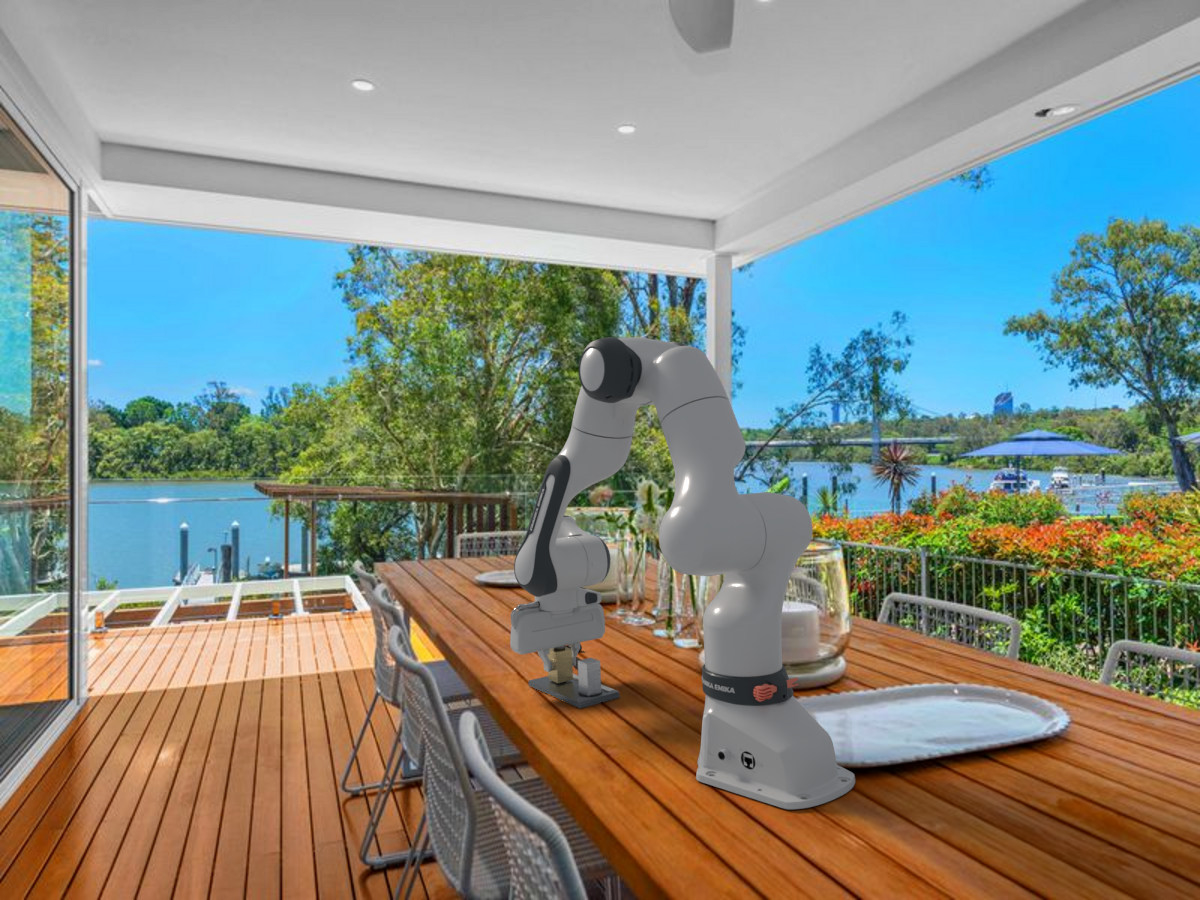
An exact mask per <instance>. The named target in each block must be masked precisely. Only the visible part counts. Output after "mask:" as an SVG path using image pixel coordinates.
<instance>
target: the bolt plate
mask: <svg viewBox="0 0 1200 900" xmlns="http://www.w3.org/2000/svg"><path fill="white" fill-rule="evenodd" d="M601 672H602V670H601V660H599V659H596V658H593V657H587V658H583V659H581V660H579V661H578V669H577V674H578V675H577V674H575V673H573V680H570V681H565V682H561V683H556V682H553V681H551V680H549V679H548V675H547V676H541V677H537V678H534V679H529V680H528V687H529V686H531V687H533V688H535V689H534V690H536V689H537V690H536V691H538V690H540V691H542V692H545V693H547V694H550V695H552V696H554V697H556V698H558V699H560V700H559V701H561V700H563V701H565V702H567V703H569V704H568V705H570V704H571V706H572V705H573V706H572V707H574V706H575V708H576V707H578V708H577V709H579V708H580V709H583V708H587V707H590V706H594V705H595V706H596V705H599V704H602V703H601V702H603V703H606V702H610V701H613V699H614V700H617V699H620V691H619V690H616V689H614V688H611V687H609V686H606V685H604V684H602V679H601V678H602V673H601ZM531 687H530V688H531ZM533 688H532V689H533ZM540 691H539V692H540ZM542 692H541V693H542ZM545 693H544V694H545ZM547 694H546V695H547ZM554 697H553V698H554ZM556 698H555V699H556ZM558 699H557V700H558ZM609 700H610V701H609ZM563 701H562V702H563ZM605 701H606V702H605ZM565 702H564V703H565ZM567 703H566V704H567ZM598 703H599V704H598Z"/></svg>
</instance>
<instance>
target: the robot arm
mask: <svg viewBox="0 0 1200 900" xmlns="http://www.w3.org/2000/svg"><path fill="white" fill-rule="evenodd" d="M578 378H579V382H580V385H581V387H580V390H579V391H578V392H579V393H578V396H577V400H576V403H575V407H574V410H573V411H574V412H573V416H572V417H573V418H572V422H571V426H570V427H571V429H570V431H569V434H568V437H567V440H566V441H565V444H564V446H563V447H562V449H561V451H559V454H558V455H556V456H555V457H554V458H553V459H552V460H550V462H549V464H548V466H547V468H546V471H545V473H544V476H543V479H542V482H541V484H540V489H539V491H538V495H537V498H536V501H535V504H534V508H533V510H532V515H531V516H530V520H529V524H528V527H527V530H526V533H525V536H524V538H523V541H522V543H521V544H520V546H519V548H518V550H517V553H516V556H515V559H514V562H513V571H514V572H513V573H514V577H515V580H516V582H517V583H518V584H519V586H520V587H521V588H522V589H523V590H525V591H526V592H527V593H528V594H530V595H532V596H534V601H532V602H531V601H530V602H528V603H520V604H518V605H516V607H514V608H513V609H512V611H511V612H510V624H511V628H510V639H509V642H510V649H511V650H512V651H513V652H514V653H515V654H519V655H527V654H531V653H536V652H537V654H538V656H539V657H540V659H541V660H542V662H543V670H544V672H547V673H548V672H550V671H554V670H555V667H554V666H555V662H554V661H551V660H550V659H549V658H548V656H547V655H548V654H550V652H549V649H551V648H555V647H560V646H568V645H569V647H571V649H572V667H575V665H576V657H578V654H579V653H580V652H579V650H580V644H581V643H583V642H587V641H591V640H592V641H593V640H597V639H601V638H603V637H604V634H605V632H606V621H605V612H604V608H603V606H602V605H601V604H600V603H601V602H602V594H601V592H599V591H595V590H591V589H587V588H585V587H588V586H589V587H590V586H594V585H597V584H601V583H602V582H603V581H604V580H605V579H606V578H607V577H608V575H609V572H610V569H611V552H610V550H609V548H608V545H607V544H606V542H605V541H604V540H603V539H602V538H601V537H599V536H598V535H593V534H591V533H588V532H587V531H585V530H583V529H582V528H581V527H580V526H578V525H577V523H576V520H575V518H573V517H572V516H569V515H565V513H566V511H567V508H568V505H569V504H570V503H571V501H572V500H573V499H574V498H575V496H577V495H578V494H579V493H581V492H582V491H584V490H586V489H587V488H589V487H591V486H592V485H594V484H598V483H599V482H602V481H604V480H606V479H609V478H610V477H612V476H614V475H615V474H616V473H617V472H619V471H620V470H621V469H622V468H623V467H624V465H625V463H626V461H627V460H628V458H629V454H630V451H631V449H632V447H631V446H632V443H633V442H632V441H633V437H634V436H633V435H634V429H635V423H636V416H637V412H638V410H639V409H640V407H642V406H654V407H655V410H656V413H657V417H658V420H659V423H660V426H661V429H662V432H663V435H664V438H665V442H666V445H667V447H668V448H667V449H668V451H669V454H670V458H671V461H672V465H673V471H674V477H675V479H674V480H675V482H674V483H675V487H674V495H673V499H672V502H671V505H670V507H669V508H668V510H667V511H666V512H665V514H664V516H663V518H662V520H661V523H660V524H659V530H658V543H659V548H660V552H661V554H662V556H663V558H664V560H665V562H667V564H668V565H669V566H670V567H671V568H672V570H674V571H675V572H677V573H679V574H683V575H689V576H699V577H702V576H703V577H713V576H720V575H724V579H723V582H722V584H721V586H720V590H719V591H718V593H717V594H716V596H715V597H714V598H713V599H712V601H710V602H709V603H708V605H707V607H706V608H705V610H704V613H703V617H702V618H703V619H702V624H703V625H702V626H703V627H702V628H703V650H704V652H703V653H704V664H703V665H702V666H701V667H702V670H701V672H702V674H701V682H702V691H703V693H704V694H705V697H704V698H705V699H704V700H705V701H704V709H703V714H702V724H701V735H700V736H701V737H700V738H701V739H700V740H701V741H700V749H699V754H698V758H697V766H698V767H697V769H696V776H695V778H696V780H697V781H698V782H700V783H703V784H707V785H709V786H711V787H712V786H713V787H716V788H719V789H722V790H725V791H728V792H731V793H734V794H737V795H740V796H743V797H746V798H749V799H753V800H756V801H758V802H761V803H766V804H768V805H771V806H775V807H778V808H781V809H784V810H800V809H808V808H812V807H816V806H820V805H823V804H826V803H829V802H831V801H833V800H835V799H838V798H840V797H841V796H844V795H846V794H847V793H848V792H850V791H851V790H852V789H853V788H854V786H855V784H856V776H855V773H853V772H852V771H850V770H848V769H846V768H844V767H843V766H841V765H839V764H838V763H837V757H836V751H835V746H834V743H833V740H832V738H831V735H830V733H829V732H828V731H827V730H825V728H824V727H823V726H822V725H821V724H820V723H819V722H818V721H817V720H816V719H815V718H814V717H813V716H812V715H811V714H810V713H809V711H807V710H806V708H805V707H804V706H803V705H802V703H800V702H799V701H798V699H797V698H796V697H795V696H794V690H793V688H794V687H796V686H799V683H795V682H797V681H798V680H799V677H793V678H790V677H789V674H788V673H787V669H786V667H785V665H784V664H783V651H782V647H783V646H782V645H783V644H782V643H783V641H782V618H783V617H782V614H783V609H784V608H783V606H784V601H785V596H786V592H787V589H788V586H789V582H790V578H791V576H792V573H793V570H794V568H795V567H796V564H797V562H798V561H799V559H800V558H801V556H802V555H803V554H804V553H805V551H806V550H807V549H808V547H809V545H810V543H811V541H812V539H813V538H812V537H813V522H812V518H811V515H810V513H809V511H808V509H807V507H806V506H805V504H804V503H803V502H801V501H800V500H799V499H797V498H796V497H794V496H792V495H791V496H790V495H786V494H781V493H777V492H776V493H775V492H770V491H769V492H768V491H764V492H763V491H762V492H753V493H741V494H740V493H739V492H738V490H737V487H736V482H735V468H736V467H737V466H738V465H739V464H740V462H741V461H742V459H743V457H744V456H745V452H746V442H745V439H744V437H743V433H742V431H741V428H740V426H739V422H738V420H737V417H736V415H735V412H734V409H733V406H732V404H731V402H730V399H729V396H728V395H727V392H726V390H725V389H726V388H724V386H723V385H724V384H723V382H722V380H721V379H720V377H719V375H718V373H717V371H716V369H715V368H714V366H713V364H712V363H711V361H710V360H709V358H708V357H707V355H706V354H705V353H704V352H703V351H702V350H701V349H699V348H697V347H695V346H693V345H692V346H691V345H687V344H686V343H682V342H679V341H666V340H664V341H663V340H660V339H652V338H650V339H649V338H647V337H639V336H638V337H637V336H635V337H634V336H633V337H619V338H618V337H614V336H609V337H602V338H598V339H596V340H592V341H591V342H589V343H588V344H587V346H586V347H585V348H584V349H583V351H582V353H581V356H580V359H579V364H578Z"/></svg>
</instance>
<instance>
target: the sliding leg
mask: <svg viewBox="0 0 1200 900" xmlns="http://www.w3.org/2000/svg"><path fill="white" fill-rule="evenodd" d="M565 646H566V645H565ZM565 646H560V647H555V648H551V649H549V652H550V654H548V655H547V656H548V658H549V659H550V660H551V661H554V662H555V666H554V667H555V670H554V671H550V672H547V676H548V679H549V680H551V681H553V682H556V683H561V682H565V681H570V680H573V674H574V671H573V669H574V668H573V667H574V666H572V649H570V648H567V647H565Z"/></svg>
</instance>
